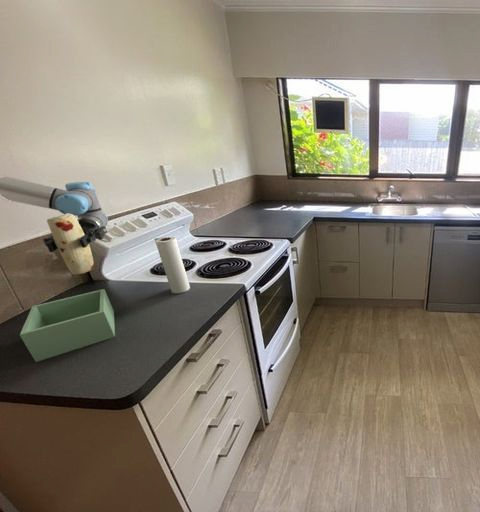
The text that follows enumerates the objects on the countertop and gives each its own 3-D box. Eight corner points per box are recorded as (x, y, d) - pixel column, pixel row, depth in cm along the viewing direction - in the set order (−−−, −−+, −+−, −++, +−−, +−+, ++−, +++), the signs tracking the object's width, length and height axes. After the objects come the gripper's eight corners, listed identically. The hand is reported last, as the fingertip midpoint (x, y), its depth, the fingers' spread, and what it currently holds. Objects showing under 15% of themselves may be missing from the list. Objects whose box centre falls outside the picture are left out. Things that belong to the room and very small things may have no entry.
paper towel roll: (191, 290, 113) (176, 239, 104) (173, 295, 109) (156, 242, 101) (188, 284, 118) (173, 234, 109) (170, 288, 114) (154, 237, 106)
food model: (90, 275, 96) (64, 217, 88) (63, 278, 94) (35, 219, 86) (103, 264, 104) (81, 210, 97) (79, 267, 102) (54, 212, 94)
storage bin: (45, 330, 89) (32, 306, 86) (114, 311, 99) (104, 288, 95) (35, 362, 77) (19, 334, 73) (114, 336, 86) (103, 311, 83)
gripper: (123, 233, 115) (111, 250, 97) (54, 241, 105) (26, 263, 87) (116, 214, 112) (103, 229, 94) (45, 221, 103) (14, 240, 85)
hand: (66, 245), depth 91 cm, fingers closed on food model, 7 cm apart
